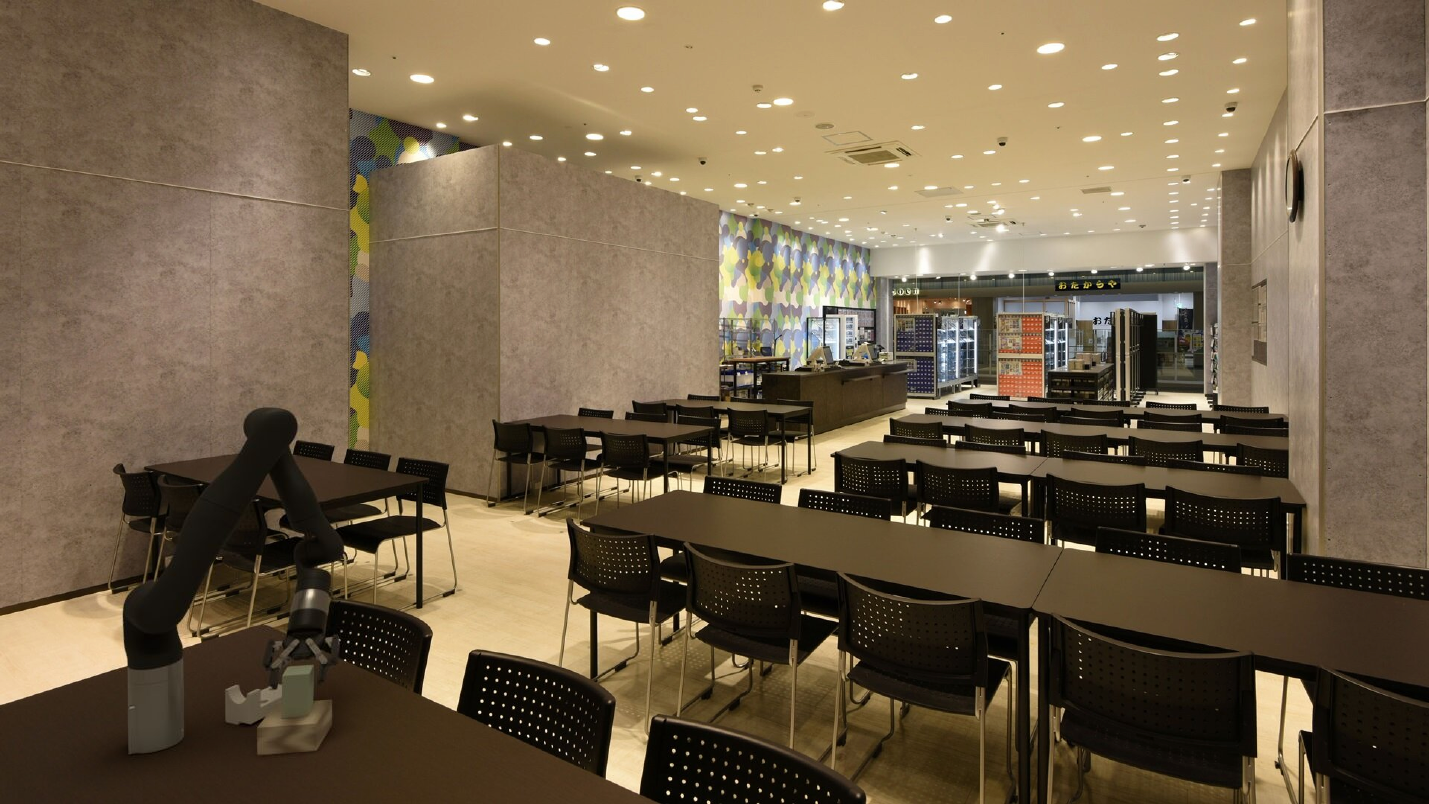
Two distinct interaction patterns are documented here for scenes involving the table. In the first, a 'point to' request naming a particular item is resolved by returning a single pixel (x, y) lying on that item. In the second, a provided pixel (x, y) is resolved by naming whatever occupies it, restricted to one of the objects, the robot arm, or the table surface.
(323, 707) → the birch block
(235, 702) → the bracket
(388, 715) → the table surface
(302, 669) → the green prism
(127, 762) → the table surface
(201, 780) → the table surface
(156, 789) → the table surface
